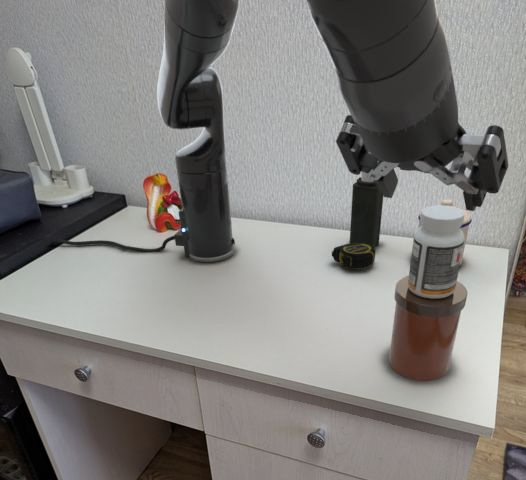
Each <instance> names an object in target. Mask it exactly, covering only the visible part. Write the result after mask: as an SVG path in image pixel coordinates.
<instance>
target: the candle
mask: <svg viewBox="0 0 526 480" xmlns="http://www.w3.org/2000/svg"><path fill="white" fill-rule="evenodd" d="M369 153H370V152H369ZM370 154H371V153H370ZM351 193H352V195H351V209H350V210H351V211H350V229H349V244H350V243H354V242H364V243H367V244H371V245H372V246H373V247H374V248H375V249H376V248H377V247H379V245H380V235H381V225H382V216H383V206H384V196H383V194H382V192H380V191H379V190H378V189H377V186H376V184H375V182H374V180H371V179H369V178H368V177H367V173H365V172H362V171H361V176H360V177H358V178H356V182H354V183H353V184H352V192H351Z"/></svg>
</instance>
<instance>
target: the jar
mask: <svg viewBox="0 0 526 480" xmlns="http://www.w3.org/2000/svg"><path fill="white" fill-rule="evenodd" d="M408 277H409V275H406V276H404V277H402V278H401V279H399V280H398V281H397V282H396V284H395V288H394V295H393V296H394V301H395V306H394V307H395V309H394V315H393V324H392V332H391V338H390V339H391V340H390V348H389V356H388V363H389V365H390V367H391V368H392V370H393V371H394V372H395V373H397V374H398V375H401V376H402V377H404V378H406V379H410V380H415V381H421V382H422V381H423V382H425V381H426V382H428V381H434V380H438V379H441V378H443V377H444V376H445V375H446V374H447V373H448V371H449V370H450V365H451V361H452V357H453V351H454V346H455V341H456V337H457V334H458V333H457V332H458V328H459V324H460V319H461V314H462V311H463V310H464V308H465V307H466V303H467V298H468V289H467V288H466V286H465V285H464V284H463V283H462V282H460V281H459V280H457V283H456V288H455V291H454V292H453V293H452V294H451V295H450V296H447V297H445V298H440V299H429V298H424V297H420V296H418V295H416V294H414V293H413V292H411V291H410V289H409V287H408Z"/></svg>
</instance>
